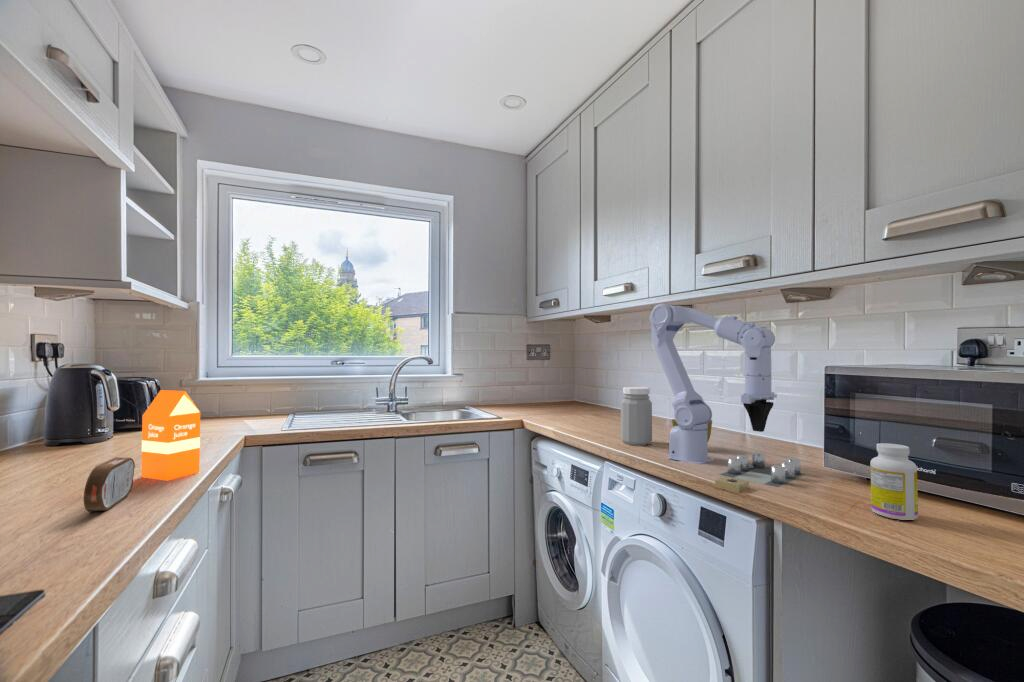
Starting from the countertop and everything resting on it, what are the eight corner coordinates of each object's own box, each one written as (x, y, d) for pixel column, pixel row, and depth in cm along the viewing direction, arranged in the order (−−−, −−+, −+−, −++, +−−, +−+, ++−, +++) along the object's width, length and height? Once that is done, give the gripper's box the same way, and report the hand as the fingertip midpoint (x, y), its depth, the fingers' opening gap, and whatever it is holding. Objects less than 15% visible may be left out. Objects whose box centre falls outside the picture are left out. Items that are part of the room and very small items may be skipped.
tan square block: (715, 490, 100) (715, 479, 101) (725, 486, 104) (725, 475, 104) (738, 496, 97) (738, 485, 97) (748, 491, 100) (748, 480, 100)
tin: (118, 493, 95) (119, 453, 95) (137, 492, 96) (138, 451, 96) (80, 519, 81) (81, 471, 81) (102, 516, 82) (103, 469, 82)
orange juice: (167, 480, 104) (168, 392, 105) (140, 477, 107) (142, 391, 108) (200, 472, 112) (201, 389, 112) (174, 469, 115) (176, 388, 115)
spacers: (724, 472, 112) (724, 458, 112) (749, 463, 121) (749, 450, 121) (782, 484, 102) (782, 469, 102) (805, 474, 111) (805, 459, 111)
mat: (719, 476, 110) (719, 474, 110) (749, 465, 121) (749, 463, 121) (777, 488, 100) (777, 487, 100) (805, 475, 111) (805, 473, 111)
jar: (615, 441, 153) (615, 386, 153) (640, 439, 156) (640, 386, 156) (631, 446, 143) (631, 389, 144) (658, 445, 146) (658, 388, 147)
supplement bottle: (897, 509, 88) (896, 441, 88) (928, 522, 81) (927, 449, 81) (861, 509, 88) (861, 441, 88) (890, 522, 81) (889, 449, 81)
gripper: (763, 377, 106) (763, 436, 105) (787, 375, 115) (787, 430, 115) (732, 376, 111) (732, 432, 111) (757, 374, 120) (757, 426, 120)
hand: (758, 431), depth 113 cm, fingers closed
